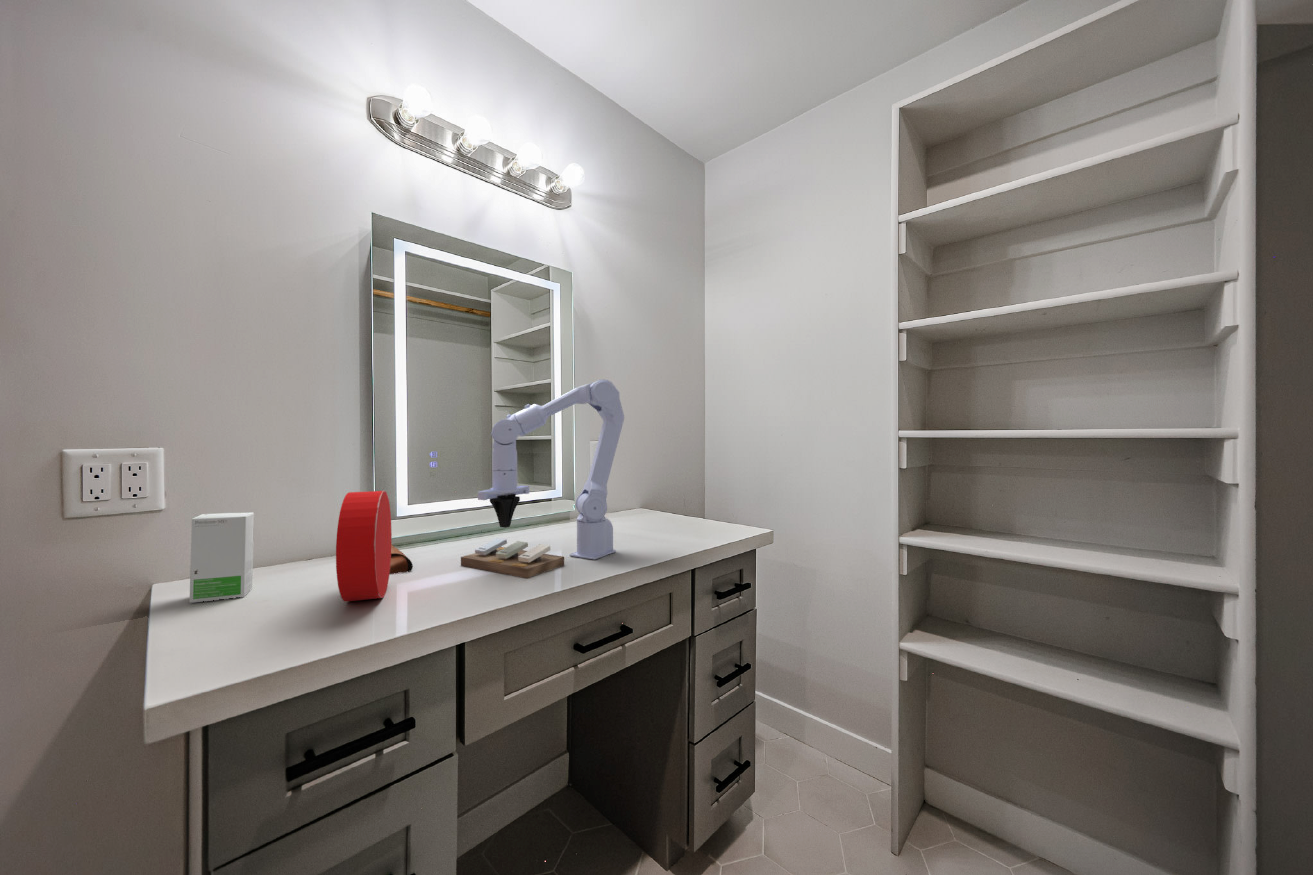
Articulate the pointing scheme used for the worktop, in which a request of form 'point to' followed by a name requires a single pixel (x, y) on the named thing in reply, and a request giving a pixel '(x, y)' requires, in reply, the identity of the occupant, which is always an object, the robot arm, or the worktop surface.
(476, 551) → the bluegrey rocker
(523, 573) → the switch panel
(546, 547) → the cream rocker
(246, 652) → the worktop surface
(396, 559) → the sunglasses case
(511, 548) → the sage rocker
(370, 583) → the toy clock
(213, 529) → the skincare box
